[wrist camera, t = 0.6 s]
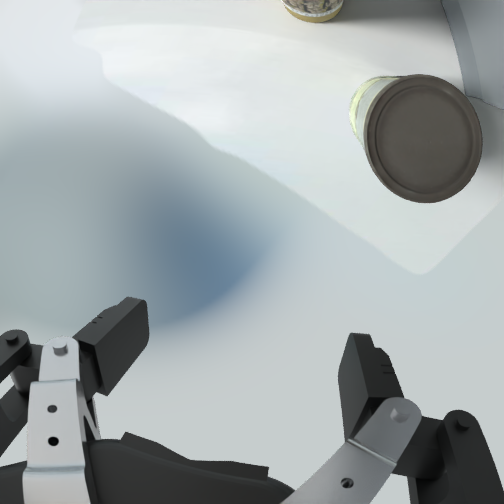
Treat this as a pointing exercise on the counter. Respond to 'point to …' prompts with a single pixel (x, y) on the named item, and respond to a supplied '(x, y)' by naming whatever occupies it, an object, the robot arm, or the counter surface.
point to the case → (463, 48)
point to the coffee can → (417, 135)
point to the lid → (487, 45)
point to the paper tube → (313, 9)
